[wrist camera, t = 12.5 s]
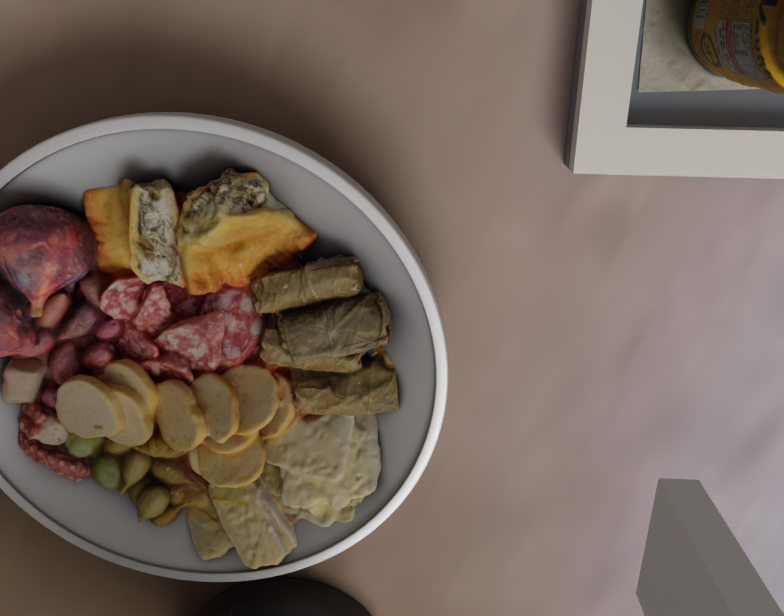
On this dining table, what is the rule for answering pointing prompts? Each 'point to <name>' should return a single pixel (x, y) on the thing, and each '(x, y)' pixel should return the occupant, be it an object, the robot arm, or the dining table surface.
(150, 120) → the bowl
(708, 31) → the condiment
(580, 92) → the pocket plate
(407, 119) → the dining table surface
